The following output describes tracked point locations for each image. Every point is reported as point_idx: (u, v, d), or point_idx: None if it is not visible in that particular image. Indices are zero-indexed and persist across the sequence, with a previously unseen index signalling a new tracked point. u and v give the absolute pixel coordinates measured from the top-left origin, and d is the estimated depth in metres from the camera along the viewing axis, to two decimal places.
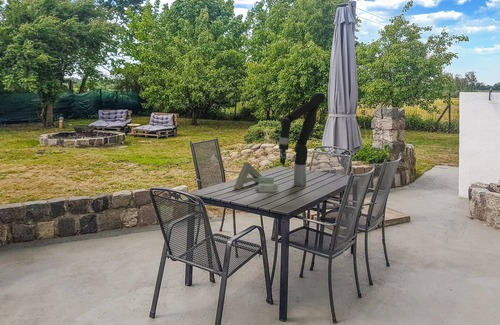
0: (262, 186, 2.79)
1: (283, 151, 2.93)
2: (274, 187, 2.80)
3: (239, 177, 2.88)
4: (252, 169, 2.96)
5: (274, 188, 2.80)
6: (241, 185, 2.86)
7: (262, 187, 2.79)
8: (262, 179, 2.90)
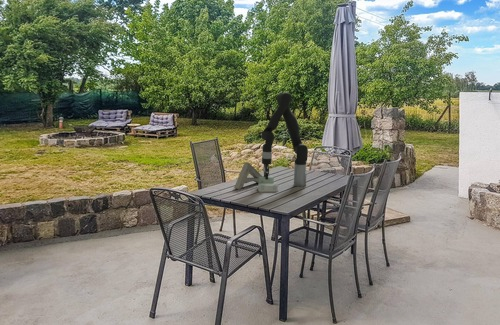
0: (262, 186, 2.79)
1: (266, 166, 2.86)
2: (274, 187, 2.80)
3: (239, 177, 2.88)
4: (252, 169, 2.96)
5: (274, 188, 2.80)
6: (241, 185, 2.86)
7: (262, 187, 2.79)
8: (262, 179, 2.90)
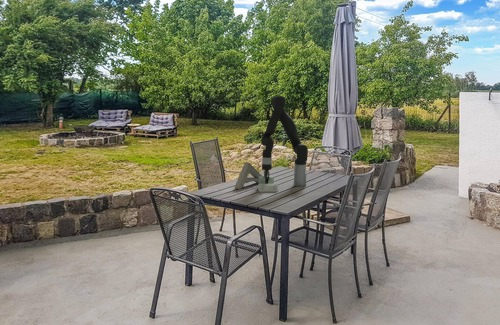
0: (262, 186, 2.79)
1: (266, 172, 2.87)
2: (274, 187, 2.80)
3: (240, 177, 2.88)
4: (252, 169, 2.96)
5: (274, 188, 2.80)
6: (242, 185, 2.87)
7: (262, 187, 2.79)
8: (262, 179, 2.90)
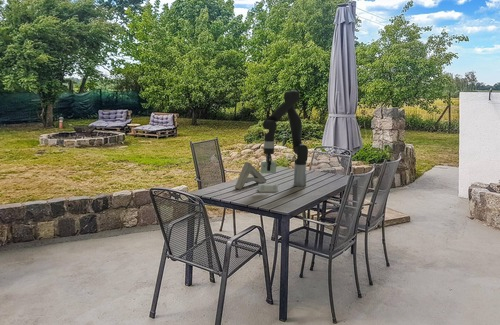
0: (262, 186, 2.79)
1: (268, 156, 2.76)
2: (274, 187, 2.80)
3: (240, 177, 2.89)
4: (253, 169, 2.96)
5: (274, 188, 2.80)
6: (242, 185, 2.87)
7: (262, 187, 2.79)
8: (264, 164, 2.79)
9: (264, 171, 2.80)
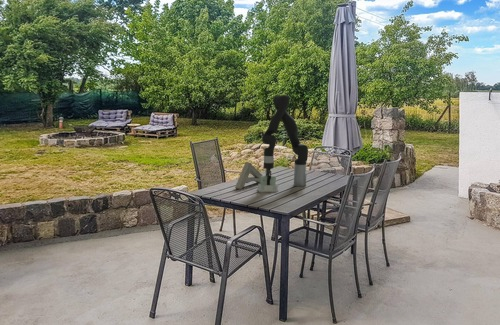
0: (262, 186, 2.79)
1: (268, 171, 2.77)
2: (274, 187, 2.80)
3: (240, 177, 2.89)
4: (253, 169, 2.97)
5: (274, 188, 2.80)
6: (242, 185, 2.87)
7: (262, 187, 2.79)
8: (264, 178, 2.81)
9: None
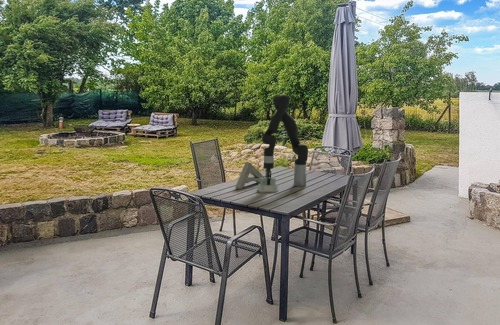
0: (262, 186, 2.79)
1: (268, 171, 2.77)
2: (274, 187, 2.80)
3: (240, 177, 2.89)
4: (253, 169, 2.97)
5: (274, 188, 2.80)
6: (242, 185, 2.87)
7: (262, 187, 2.79)
8: (264, 180, 2.81)
9: None
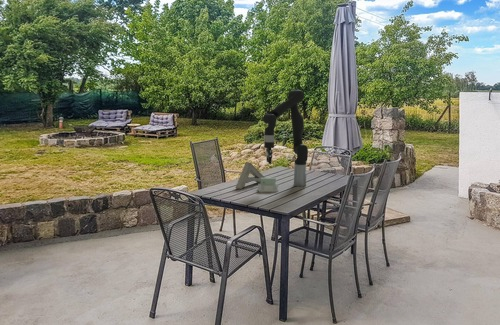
0: (262, 186, 2.79)
1: (269, 149, 2.77)
2: (274, 187, 2.80)
3: (241, 177, 2.89)
4: (253, 169, 2.97)
5: (274, 188, 2.80)
6: (243, 185, 2.87)
7: (262, 187, 2.79)
8: (264, 180, 2.81)
9: None
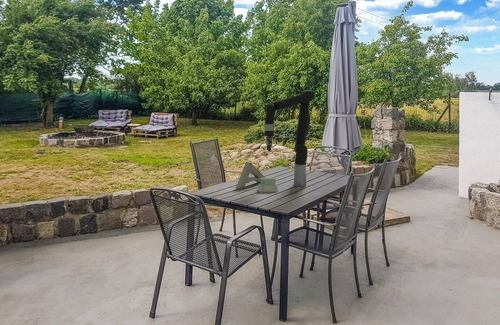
0: (262, 186, 2.79)
1: (269, 138, 2.88)
2: (274, 187, 2.80)
3: (241, 177, 2.90)
4: (254, 169, 2.97)
5: (274, 188, 2.80)
6: (243, 185, 2.88)
7: (262, 187, 2.79)
8: (264, 180, 2.81)
9: None
